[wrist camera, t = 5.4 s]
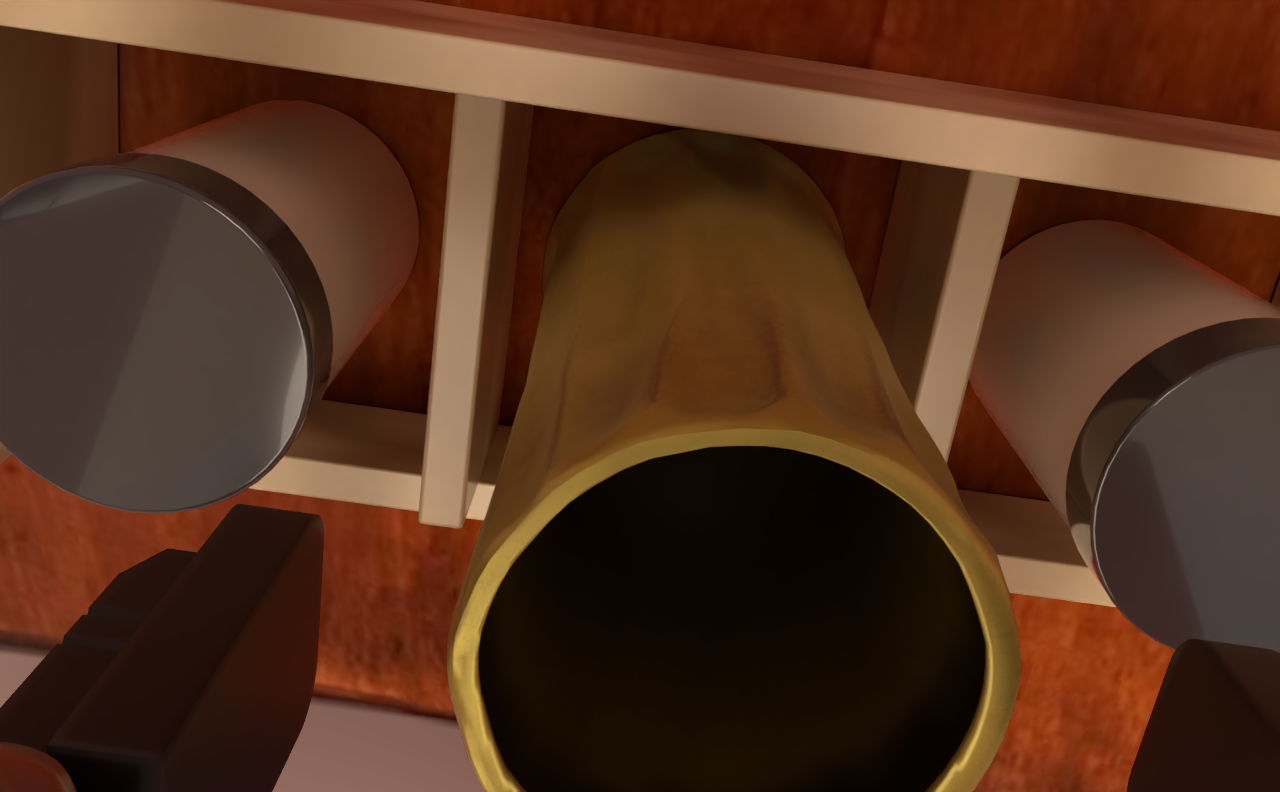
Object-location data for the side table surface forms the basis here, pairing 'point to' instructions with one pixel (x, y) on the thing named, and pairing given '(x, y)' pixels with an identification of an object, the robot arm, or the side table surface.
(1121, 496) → the spice jar right
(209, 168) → the spice jar left
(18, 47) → the rack
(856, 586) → the vase
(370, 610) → the side table surface
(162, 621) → the robot arm
